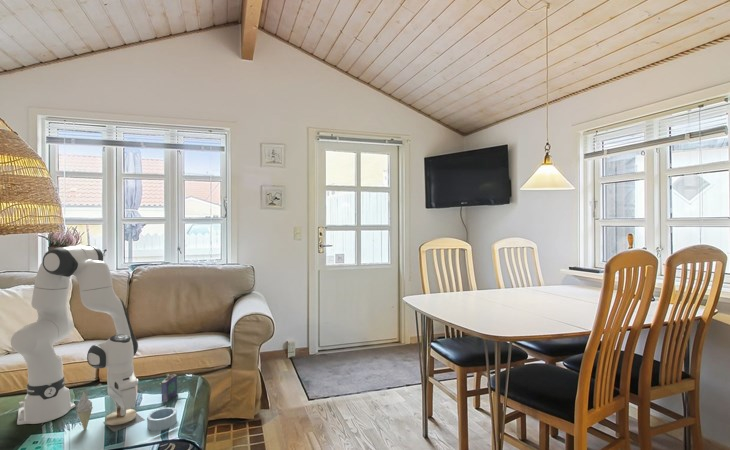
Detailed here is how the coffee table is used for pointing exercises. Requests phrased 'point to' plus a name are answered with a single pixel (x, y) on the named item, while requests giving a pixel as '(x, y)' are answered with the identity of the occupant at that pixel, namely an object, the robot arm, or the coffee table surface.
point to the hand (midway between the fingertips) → (121, 412)
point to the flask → (169, 387)
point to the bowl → (161, 419)
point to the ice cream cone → (84, 410)
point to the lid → (120, 417)
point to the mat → (121, 426)
